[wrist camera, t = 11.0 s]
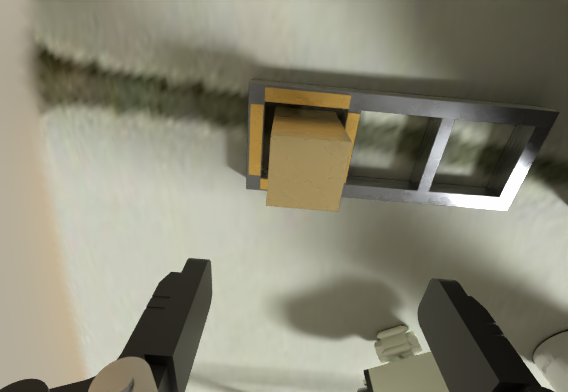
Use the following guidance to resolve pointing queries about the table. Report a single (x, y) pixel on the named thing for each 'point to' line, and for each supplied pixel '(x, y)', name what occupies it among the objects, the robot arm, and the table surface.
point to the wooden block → (307, 159)
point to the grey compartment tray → (442, 113)
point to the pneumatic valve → (403, 365)
